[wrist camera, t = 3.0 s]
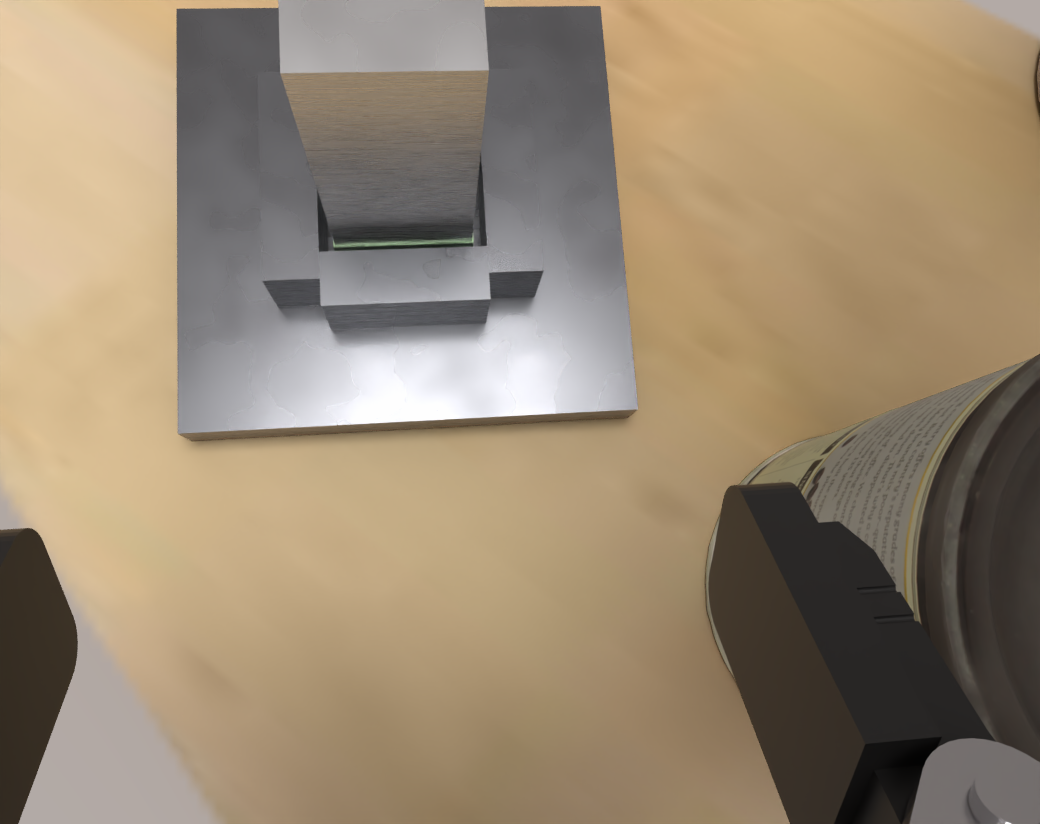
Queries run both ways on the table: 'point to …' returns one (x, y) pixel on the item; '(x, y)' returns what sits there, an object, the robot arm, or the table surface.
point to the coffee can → (947, 528)
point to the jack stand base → (398, 252)
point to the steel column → (389, 115)
